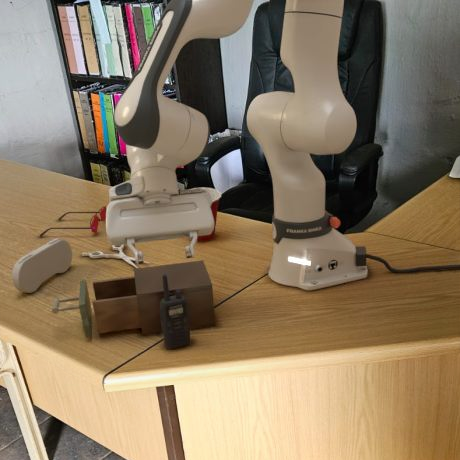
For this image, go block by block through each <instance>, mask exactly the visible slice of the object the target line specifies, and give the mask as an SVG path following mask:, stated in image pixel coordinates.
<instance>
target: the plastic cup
mask: <svg viewBox="0 0 460 460" xmlns="http://www.w3.org/2000/svg"><path fill="white" fill-rule="evenodd" d="M196 188H197V187H193V188H192V189H196ZM201 188H202V190H205V191H207V192H209V193H210V195H211V200H212V205H211V207H210V208H211V211H212V214H213V218H214V230H213V232H212V233H211V234H210V235H204V236H198V237H197V242H207V241H212V240H213V239H214V238H215V234H216V226H217V218H218V208H219V203H220V199H221V198H222V192H221V191H220V190H218V189H216V188H212V187H201ZM202 193H205V192H202Z"/></svg>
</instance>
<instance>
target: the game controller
mask: <svg viewBox="0 0 460 460" xmlns="http://www.w3.org/2000/svg"><path fill="white" fill-rule="evenodd" d="M72 261H73V249H72V246H71V245H70V243H69V242H68V241H67V240H65V239H62V238H59V237H57V238H54V239H51V240H49V241H48V242H47V243H44V244H43V245H41V246H39V247H38V248H36V249H34V250H32V251H30V252H29V253H27V254H25V255H23V256H22V257H20V258H19V259H17V261H15V263H14V266H13V268H12V273H11V280H12V283H13V285H14V288H15V289H16V290H17V291H18V292H21V293H24V294H25V293H27V294H32V293H35V292H36V291H37V290H38V289H39V288H40V286H41V284H42V283H43V282H45V281H47V280H48V279H49V278H51V277H53V276H55V275H56V274H64V273H65V272H67V271H68V270H69V268H70V267H71V264H72Z"/></svg>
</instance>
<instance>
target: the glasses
mask: <svg viewBox="0 0 460 460" xmlns="http://www.w3.org/2000/svg"><path fill="white" fill-rule="evenodd" d="M106 210H107V205H104V206H102V207H101V208H100V209H99V210H98V211H68V212H66V213H64V214H62V215H61V216H60V217H58V219H57V220H58V221H61V220H62V219H63V218H65V216H66V215H68V214H94V215H92V217H91V219H90V221H89V227H87V226H85V227H49V228H47V229H45V230H44V231H43V232H41V233H40V234H39V237H41V238H42V237H43V236H44V235H45V234H46V233H47V232H49V231H50V230H91V232H92V233H94V234H98V229H99V225H100V223H99V222H106ZM98 214H99V216H98Z"/></svg>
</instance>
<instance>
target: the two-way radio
mask: <svg viewBox="0 0 460 460" xmlns="http://www.w3.org/2000/svg"><path fill="white" fill-rule="evenodd" d="M162 277H163V289H164V299H162V300H161V301H160V309H159V312H160V319H161V325H162V332H163V333H162V337H163V343H164V347H166V348H167V349H170V350H172V349H177V348H182V347H185V346H188V345H189V344H191V342H192V341H191V329H190V323H189V309H188V303H187V301H186V299H185V297H184V296H182V293H181V290H176V293H175V296H173V295H172V294H171V293H169V288H168V281H167V275H166V274H163V276H162Z"/></svg>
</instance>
